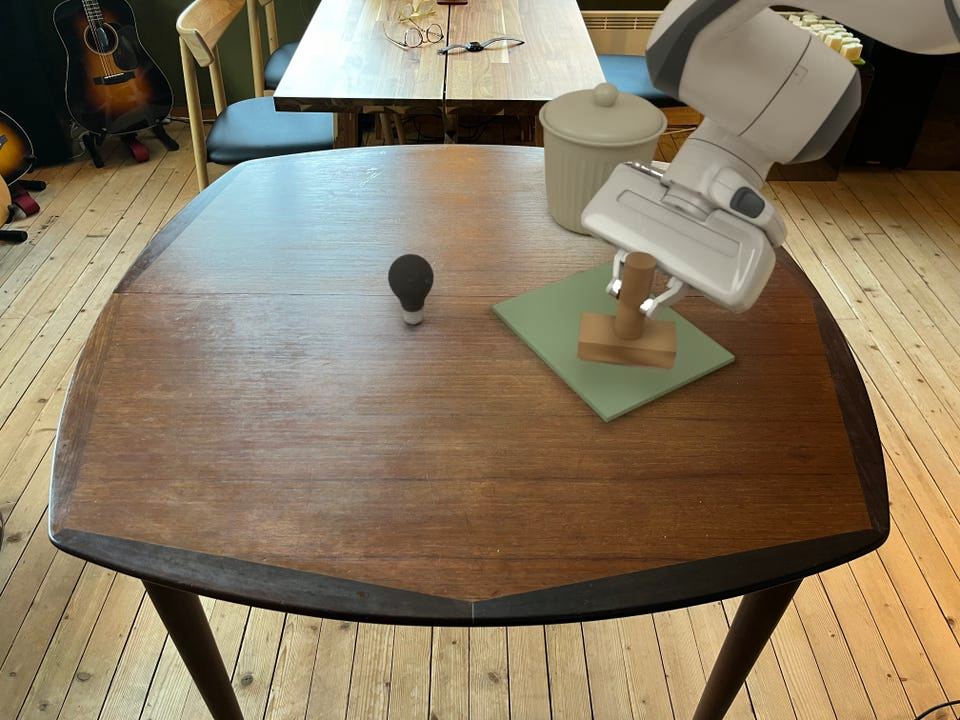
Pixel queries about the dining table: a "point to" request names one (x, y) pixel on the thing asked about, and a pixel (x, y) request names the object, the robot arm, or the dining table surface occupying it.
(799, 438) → the dining table surface
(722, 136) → the robot arm
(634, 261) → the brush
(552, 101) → the canister
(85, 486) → the dining table surface
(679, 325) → the mat
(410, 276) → the light bulb
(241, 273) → the dining table surface
